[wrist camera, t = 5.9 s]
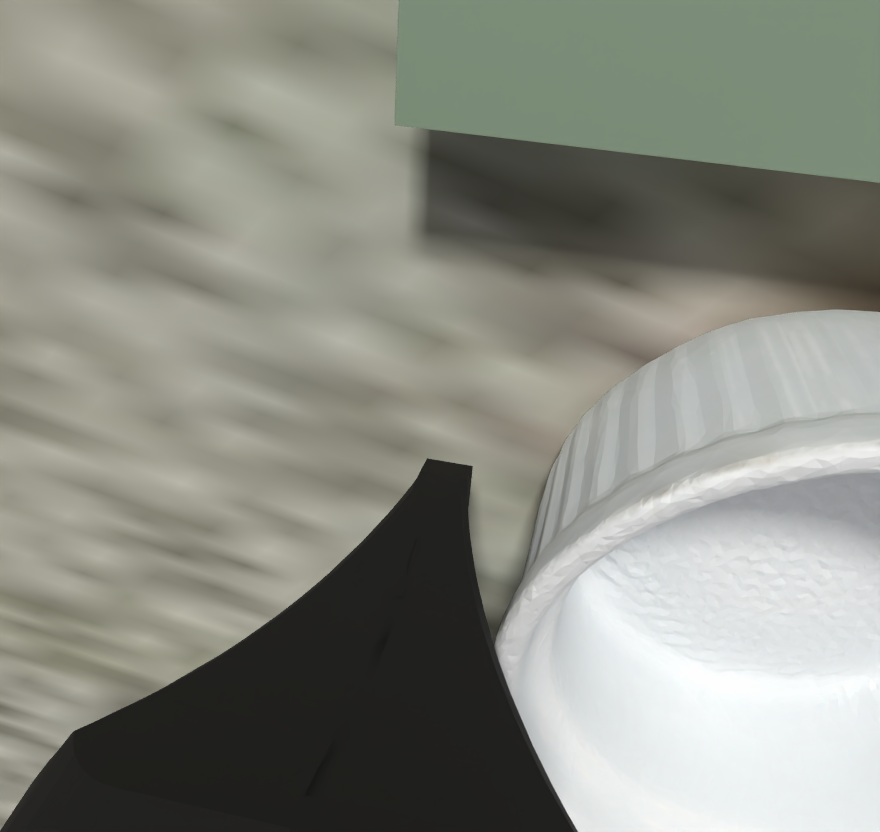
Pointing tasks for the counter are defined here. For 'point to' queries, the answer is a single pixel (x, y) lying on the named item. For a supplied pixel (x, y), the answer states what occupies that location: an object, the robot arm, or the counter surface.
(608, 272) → the counter surface
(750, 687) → the ramekin
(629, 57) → the chute bay
